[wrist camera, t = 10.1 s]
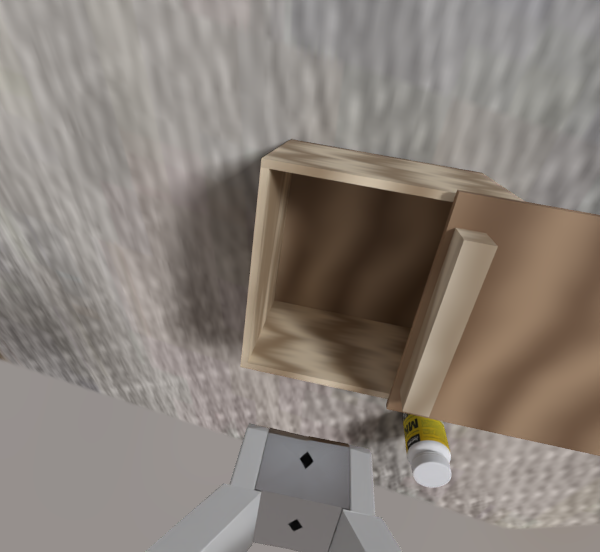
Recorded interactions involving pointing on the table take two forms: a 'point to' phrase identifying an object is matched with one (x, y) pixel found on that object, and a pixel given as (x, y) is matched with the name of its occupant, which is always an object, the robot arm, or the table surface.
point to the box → (344, 261)
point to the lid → (509, 325)
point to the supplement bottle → (427, 450)
